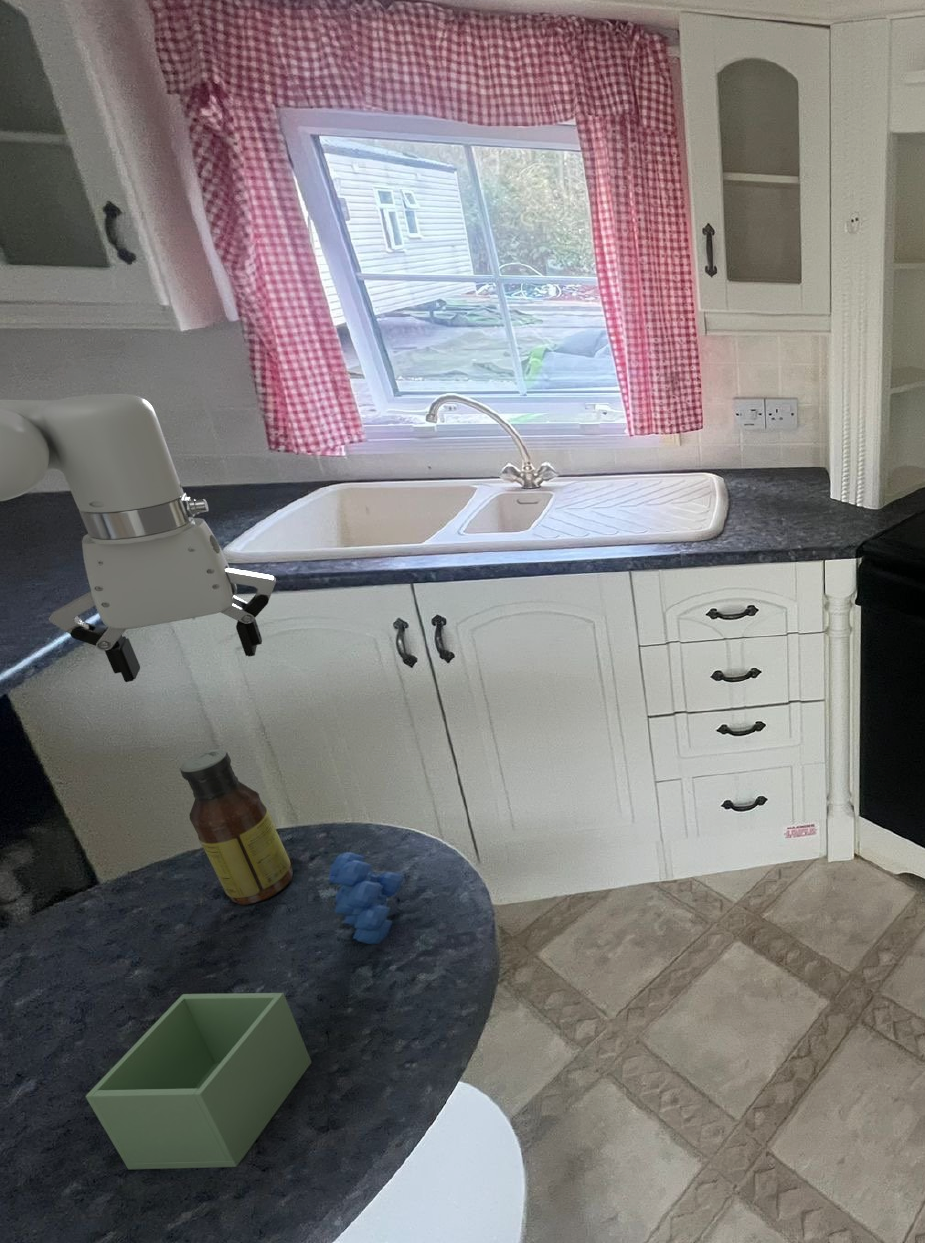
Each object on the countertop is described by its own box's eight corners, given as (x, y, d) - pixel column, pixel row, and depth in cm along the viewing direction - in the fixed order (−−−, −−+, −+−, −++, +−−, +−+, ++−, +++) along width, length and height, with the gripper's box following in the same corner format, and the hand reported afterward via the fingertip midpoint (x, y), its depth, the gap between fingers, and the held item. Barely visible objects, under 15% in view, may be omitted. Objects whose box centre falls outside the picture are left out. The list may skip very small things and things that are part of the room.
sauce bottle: (291, 860, 96) (244, 732, 89) (298, 889, 92) (249, 757, 85) (223, 887, 92) (168, 755, 85) (227, 919, 88) (169, 783, 81)
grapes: (433, 941, 86) (411, 861, 82) (364, 981, 82) (336, 899, 77) (397, 888, 93) (374, 812, 89) (331, 922, 88) (303, 843, 84)
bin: (127, 1169, 65) (84, 1096, 61) (216, 1063, 73) (182, 993, 69) (236, 1167, 65) (200, 1094, 62) (312, 1062, 74) (283, 992, 70)
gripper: (254, 494, 84) (296, 629, 90) (25, 521, 74) (90, 670, 80) (247, 514, 78) (293, 656, 85) (-2, 546, 69) (71, 703, 75)
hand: (194, 663), depth 82 cm, fingers open, 9 cm apart
